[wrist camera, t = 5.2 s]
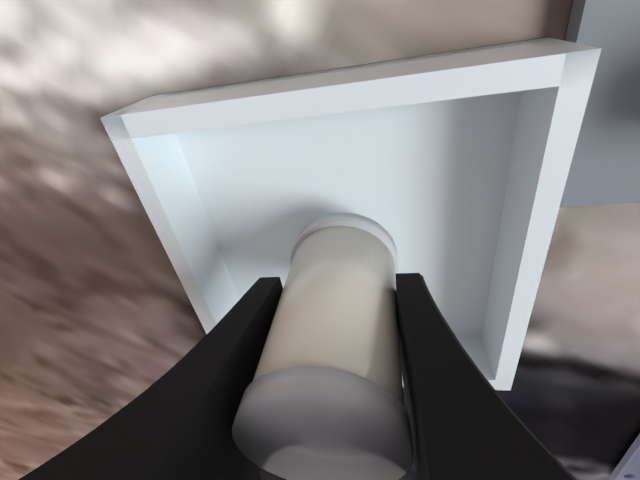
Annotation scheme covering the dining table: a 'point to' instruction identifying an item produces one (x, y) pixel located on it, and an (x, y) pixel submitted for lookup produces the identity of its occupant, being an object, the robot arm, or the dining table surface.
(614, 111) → the fuse panel
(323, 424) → the fuse
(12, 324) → the dining table surface
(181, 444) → the robot arm
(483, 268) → the parts tray
